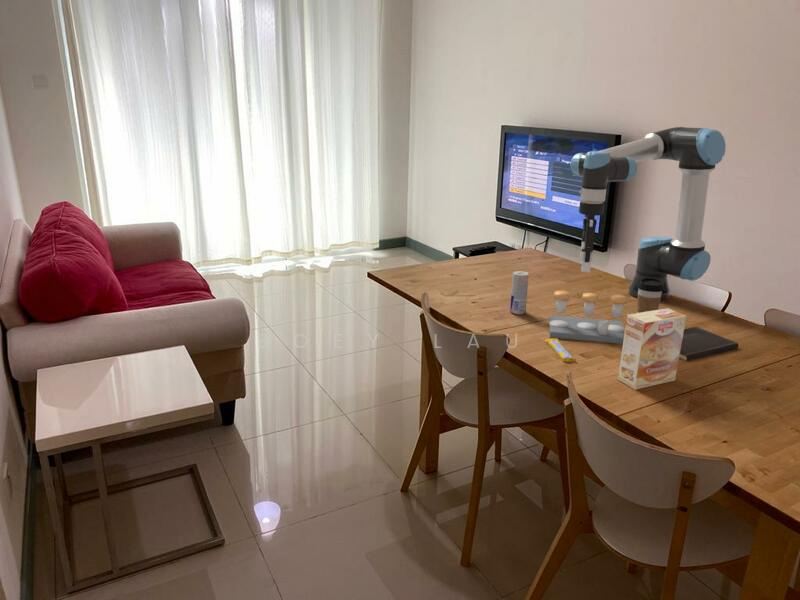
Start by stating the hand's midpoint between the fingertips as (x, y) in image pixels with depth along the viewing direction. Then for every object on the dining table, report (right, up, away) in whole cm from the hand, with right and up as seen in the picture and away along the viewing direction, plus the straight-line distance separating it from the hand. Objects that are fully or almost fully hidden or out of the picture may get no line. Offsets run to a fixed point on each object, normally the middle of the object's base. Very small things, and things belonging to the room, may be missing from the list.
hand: (584, 266), depth 202 cm
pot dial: (+5, -22, -4) cm, 23 cm away
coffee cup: (+25, -19, +13) cm, 34 cm away
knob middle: (+2, -16, +1) cm, 16 cm away
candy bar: (-11, -28, -12) cm, 32 cm away
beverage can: (-18, -16, +21) cm, 32 cm away
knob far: (-7, -15, +3) cm, 17 cm away
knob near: (+10, -17, 0) cm, 20 cm away
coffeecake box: (+8, -34, -31) cm, 46 cm away
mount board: (+2, -22, +3) cm, 22 cm away
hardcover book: (+32, -26, -6) cm, 42 cm away
